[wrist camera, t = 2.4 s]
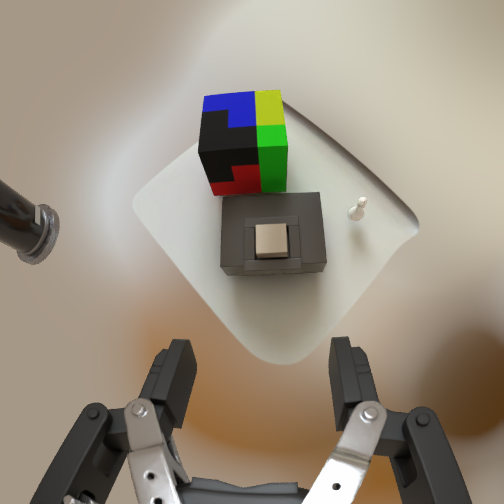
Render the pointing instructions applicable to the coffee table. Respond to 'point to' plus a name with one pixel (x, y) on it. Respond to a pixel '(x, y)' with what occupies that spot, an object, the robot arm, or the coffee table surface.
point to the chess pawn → (357, 209)
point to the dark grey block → (272, 212)
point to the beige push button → (271, 241)
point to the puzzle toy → (244, 142)
